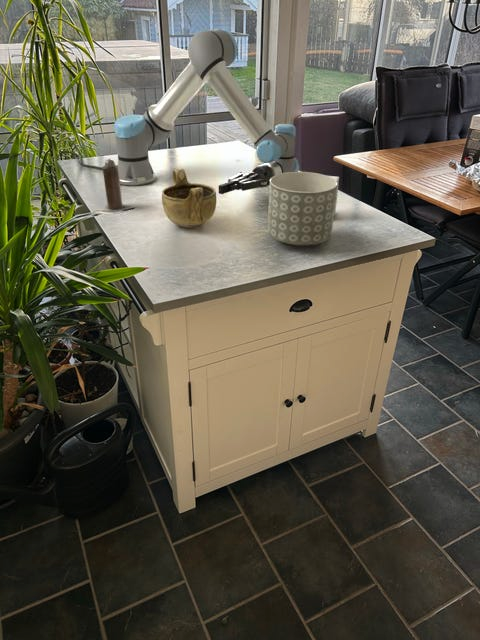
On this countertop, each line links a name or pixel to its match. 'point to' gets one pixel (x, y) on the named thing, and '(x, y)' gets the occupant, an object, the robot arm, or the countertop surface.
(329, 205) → the planter
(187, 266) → the countertop surface
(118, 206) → the pepper mill
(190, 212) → the ceramic bowl
